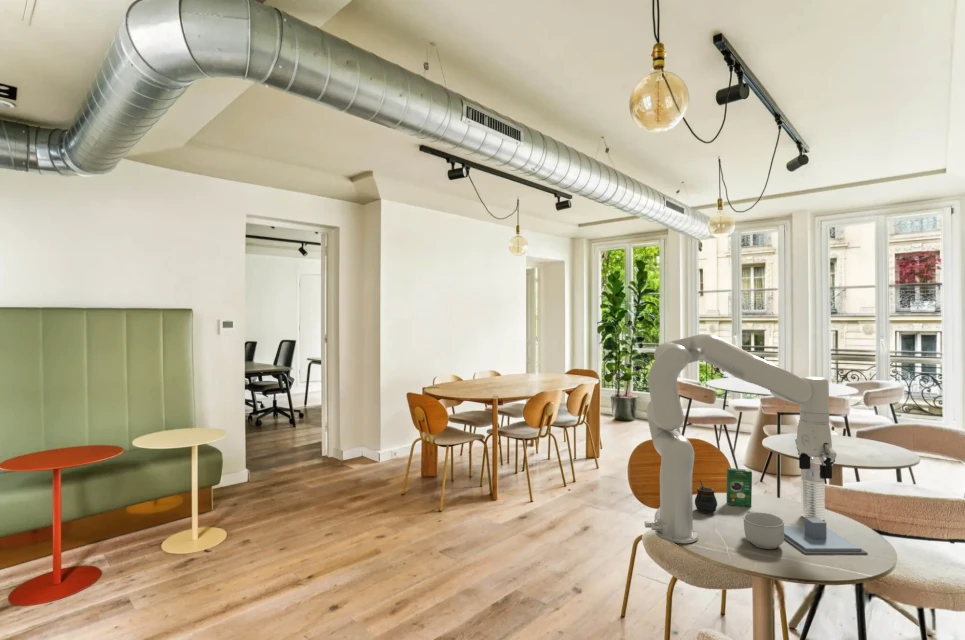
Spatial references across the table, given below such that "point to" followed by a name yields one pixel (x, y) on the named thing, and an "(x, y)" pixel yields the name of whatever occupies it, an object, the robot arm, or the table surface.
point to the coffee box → (739, 487)
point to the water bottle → (812, 491)
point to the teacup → (764, 529)
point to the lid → (818, 537)
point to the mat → (825, 551)
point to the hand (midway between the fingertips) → (815, 473)
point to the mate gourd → (705, 500)
